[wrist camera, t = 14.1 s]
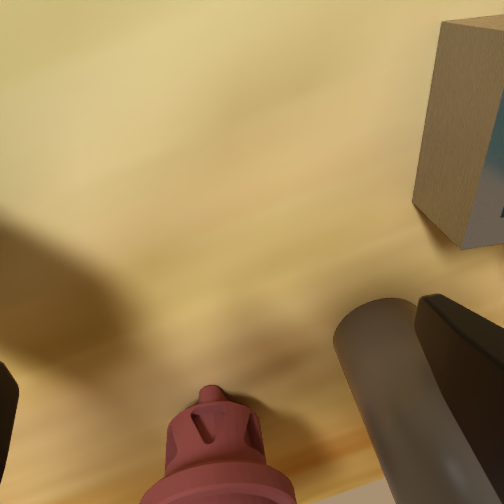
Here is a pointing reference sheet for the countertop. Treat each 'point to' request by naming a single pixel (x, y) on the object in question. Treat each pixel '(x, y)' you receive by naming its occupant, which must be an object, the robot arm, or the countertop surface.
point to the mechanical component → (218, 458)
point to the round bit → (407, 409)
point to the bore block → (465, 135)
